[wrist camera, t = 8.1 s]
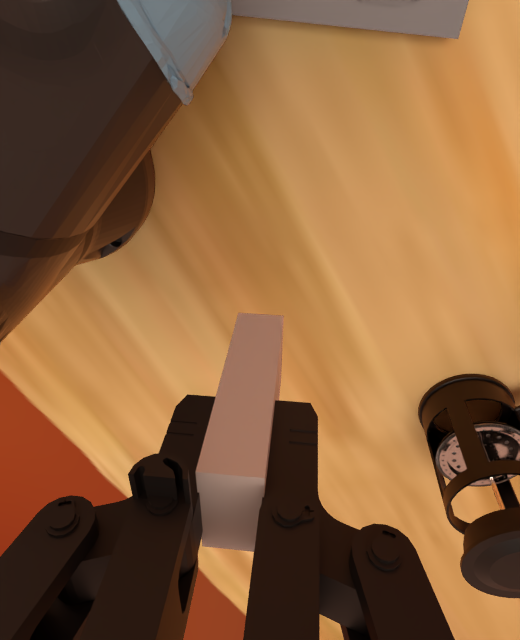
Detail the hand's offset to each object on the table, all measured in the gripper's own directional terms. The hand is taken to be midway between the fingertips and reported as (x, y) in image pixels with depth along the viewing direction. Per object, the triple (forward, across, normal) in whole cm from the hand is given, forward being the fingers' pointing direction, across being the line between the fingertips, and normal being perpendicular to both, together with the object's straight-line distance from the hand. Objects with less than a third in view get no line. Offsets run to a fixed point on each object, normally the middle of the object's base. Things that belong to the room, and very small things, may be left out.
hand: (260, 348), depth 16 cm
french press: (+26, -19, +24) cm, 40 cm away
